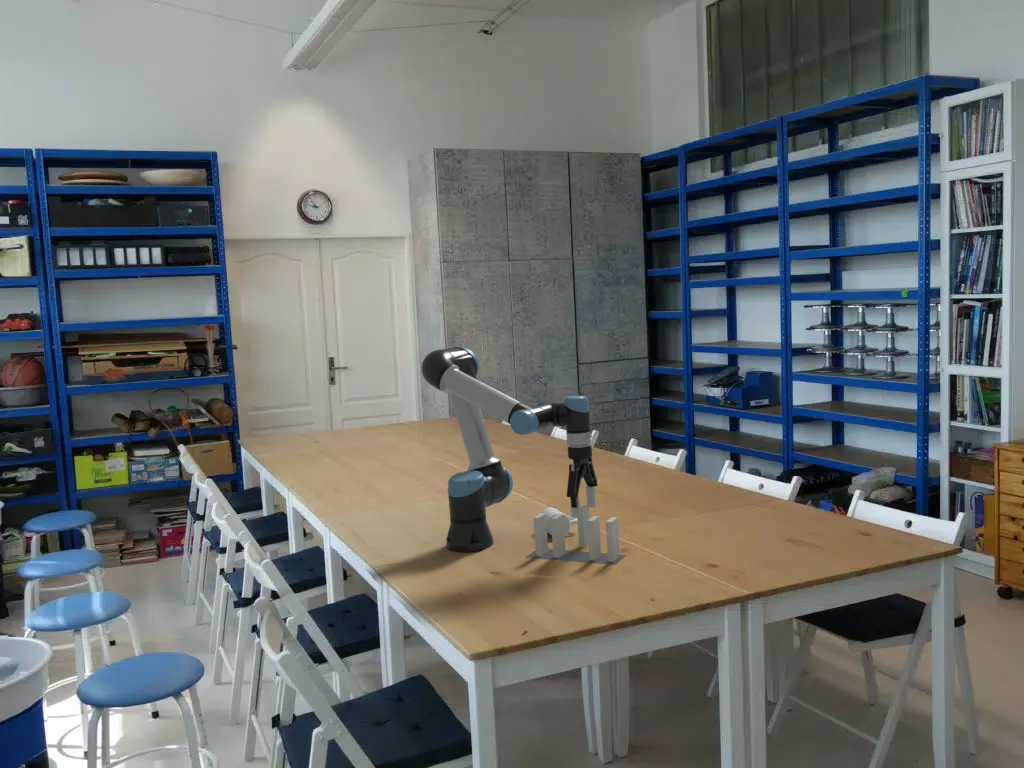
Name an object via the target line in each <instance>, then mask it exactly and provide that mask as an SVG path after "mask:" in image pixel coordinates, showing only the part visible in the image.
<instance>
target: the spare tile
mask: <svg viewBox="0 0 1024 768" xmlns="http://www.w3.org/2000/svg"><path fill="white" fill-rule="evenodd" d="M589 509H590V507H589V506H587V505H582V506H580V515H581V517H580V518H577V520H578V523H577V535H578V537H577V539H578V547H582V548H583V547H586V546H587V545H589V544H588V525H587V520H589V519H590V513H589V512H590V510H589Z"/></svg>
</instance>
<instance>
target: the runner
mask: <svg viewBox="0 0 1024 768" xmlns="http://www.w3.org/2000/svg"><path fill="white" fill-rule="evenodd" d="M565 551H566V553H565V554H563V555H562V556H561V557H559V558H556V557H553V548H552V549H550V548H548V552H547V553H545V554H544V555H542V556H536V550H533V551H532V552H530V553H529V554H528V555H526V556H525V557H524V558H525V559H537V560H538V559H539V560H548V561H549V560H551V561H563V562H564V561H565V562H574V563H575V562H577V563H589V564H590V563H591V564H601V565H602V564H603V565H611V566H615V565H617V564H619V562H621V561H623V560H622V559H624V558H625V557H626V556H627V554H622V553H621V554H620V553H619V554H620V557H619V558H618V559H617V560H615V561H614V562H608V555H607V553H605V552H601V556H600V557H599V558H598V559H596V560H595V561H594V560H589V551H579V550H566V549H565Z"/></svg>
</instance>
